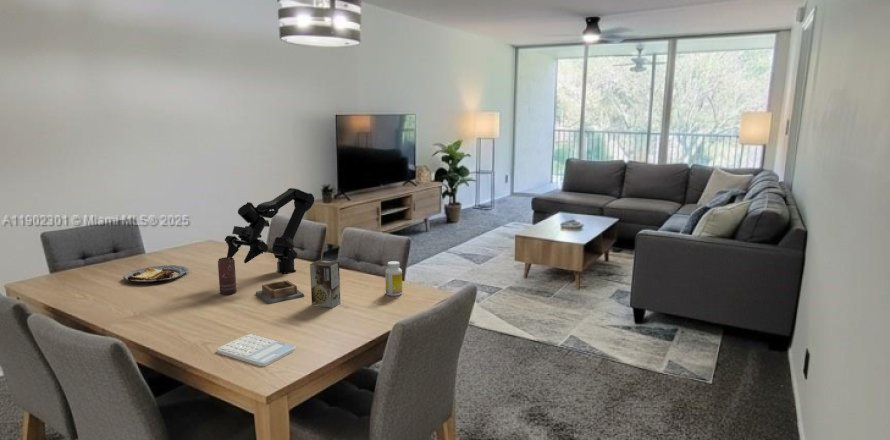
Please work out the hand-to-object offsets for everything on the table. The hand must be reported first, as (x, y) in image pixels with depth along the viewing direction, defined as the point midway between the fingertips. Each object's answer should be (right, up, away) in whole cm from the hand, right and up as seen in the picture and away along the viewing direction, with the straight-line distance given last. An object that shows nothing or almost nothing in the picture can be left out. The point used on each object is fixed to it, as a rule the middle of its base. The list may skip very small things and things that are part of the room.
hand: (236, 261), depth 216 cm
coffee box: (+39, -15, -14) cm, 44 cm away
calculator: (+27, -23, -54) cm, 65 cm away
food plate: (-41, -9, +18) cm, 46 cm away
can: (-2, -12, -2) cm, 13 cm away
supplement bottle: (+63, -13, -1) cm, 65 cm away
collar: (+19, -13, -4) cm, 23 cm away
